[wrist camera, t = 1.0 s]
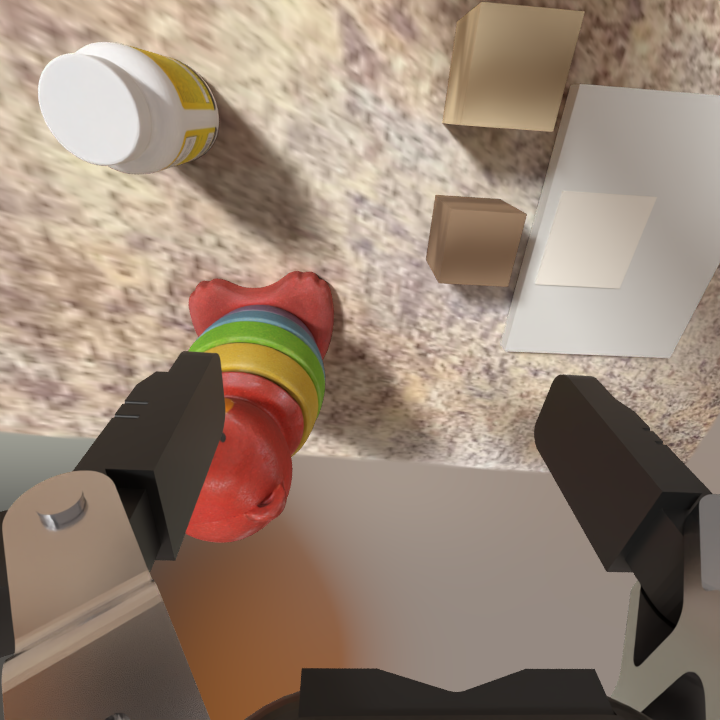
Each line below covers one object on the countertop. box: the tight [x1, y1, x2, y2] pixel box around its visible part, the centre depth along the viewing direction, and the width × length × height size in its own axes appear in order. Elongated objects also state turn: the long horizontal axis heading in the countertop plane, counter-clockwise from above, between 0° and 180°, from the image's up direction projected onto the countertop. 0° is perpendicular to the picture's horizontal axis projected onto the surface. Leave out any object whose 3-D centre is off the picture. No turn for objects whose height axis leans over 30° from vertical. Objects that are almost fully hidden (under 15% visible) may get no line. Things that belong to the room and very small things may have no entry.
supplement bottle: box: [38, 42, 219, 174], centre depth 21 cm, size 5×5×10 cm
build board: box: [500, 84, 720, 358], centre depth 29 cm, size 18×14×1 cm
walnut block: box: [426, 195, 527, 287], centre depth 27 cm, size 4×4×5 cm
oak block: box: [442, 2, 585, 132], centre depth 23 cm, size 5×5×5 cm
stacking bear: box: [185, 271, 334, 542], centre depth 26 cm, size 11×10×18 cm
